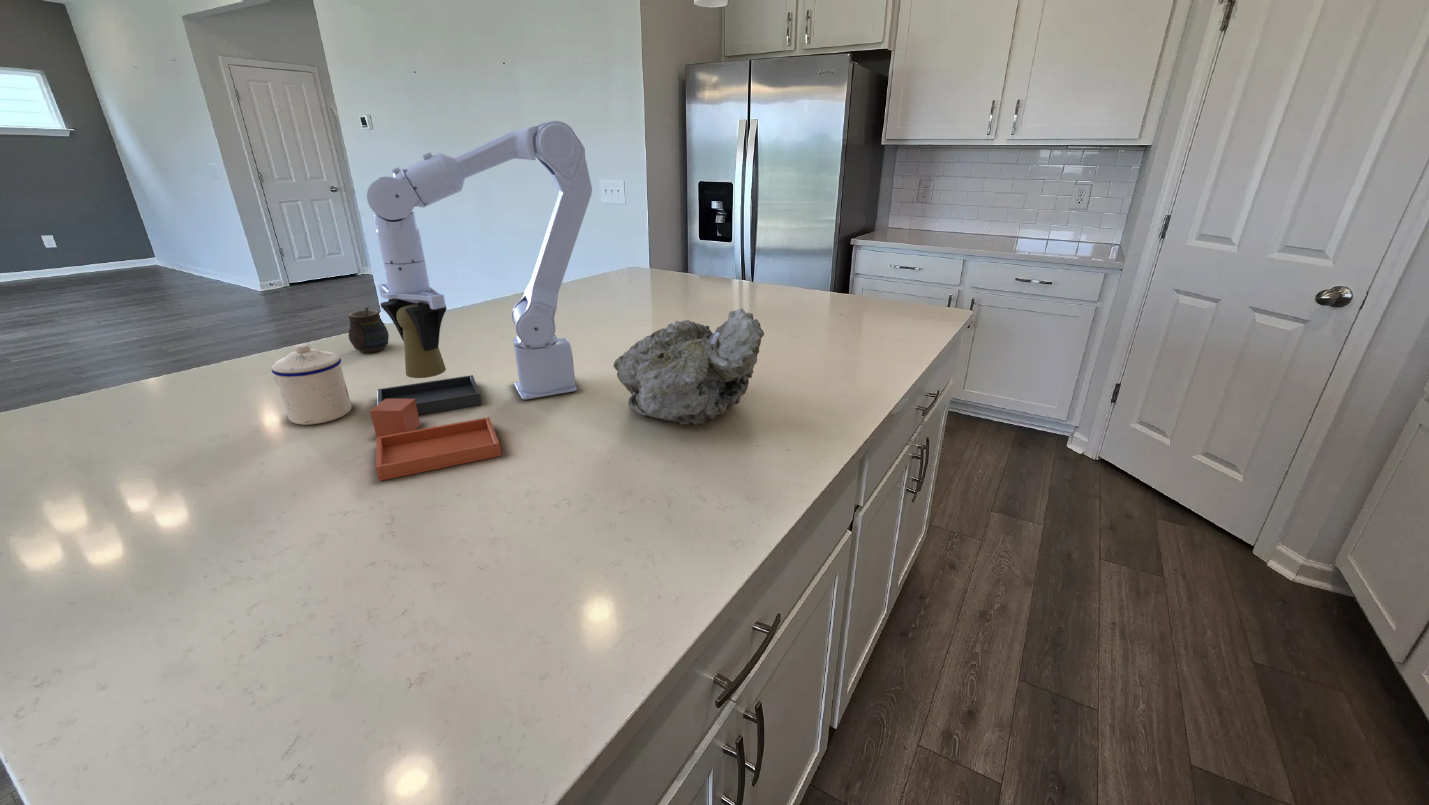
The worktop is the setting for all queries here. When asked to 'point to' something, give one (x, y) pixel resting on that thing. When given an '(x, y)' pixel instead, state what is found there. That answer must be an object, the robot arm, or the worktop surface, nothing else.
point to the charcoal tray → (436, 394)
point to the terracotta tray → (435, 448)
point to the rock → (691, 368)
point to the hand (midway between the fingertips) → (421, 345)
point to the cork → (418, 350)
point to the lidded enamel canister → (312, 385)
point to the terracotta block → (395, 416)
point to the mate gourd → (367, 331)
